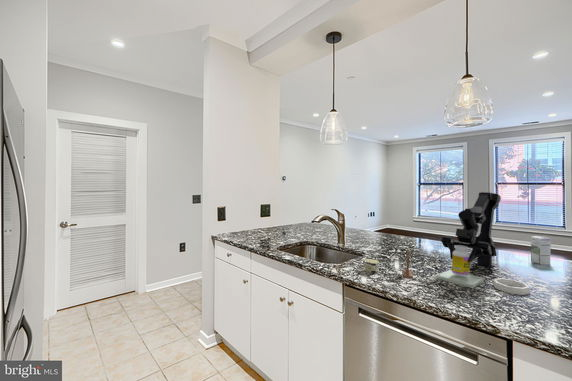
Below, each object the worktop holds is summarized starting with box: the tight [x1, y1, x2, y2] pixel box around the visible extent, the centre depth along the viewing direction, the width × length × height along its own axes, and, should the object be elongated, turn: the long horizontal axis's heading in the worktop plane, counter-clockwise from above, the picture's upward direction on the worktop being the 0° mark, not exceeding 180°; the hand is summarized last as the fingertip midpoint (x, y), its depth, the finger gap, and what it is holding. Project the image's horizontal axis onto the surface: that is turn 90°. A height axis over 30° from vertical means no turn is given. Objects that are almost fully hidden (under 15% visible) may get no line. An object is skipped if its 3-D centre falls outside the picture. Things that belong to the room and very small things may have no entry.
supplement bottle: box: [451, 245, 471, 277], centre depth 118 cm, size 7×7×13 cm
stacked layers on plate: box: [363, 258, 379, 273], centre depth 128 cm, size 10×9×6 cm
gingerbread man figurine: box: [402, 249, 414, 280], centre depth 123 cm, size 9×4×12 cm, turn 159°
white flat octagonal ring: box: [492, 277, 531, 296], centre depth 107 cm, size 11×11×2 cm
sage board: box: [436, 269, 485, 289], centre depth 118 cm, size 14×14×1 cm
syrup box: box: [530, 235, 552, 266], centre depth 143 cm, size 6×6×14 cm
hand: (459, 260), depth 117 cm, fingers closed on supplement bottle, 7 cm apart
